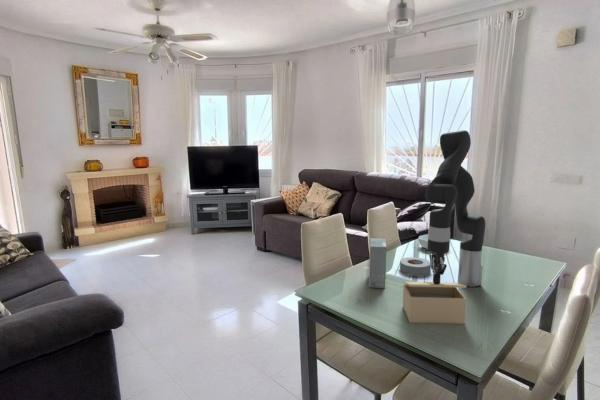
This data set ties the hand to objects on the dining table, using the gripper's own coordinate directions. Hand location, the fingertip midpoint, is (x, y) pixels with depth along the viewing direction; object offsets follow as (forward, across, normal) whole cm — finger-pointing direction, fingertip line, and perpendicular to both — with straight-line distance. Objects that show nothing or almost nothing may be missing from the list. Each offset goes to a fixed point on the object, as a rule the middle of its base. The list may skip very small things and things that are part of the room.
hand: (436, 283), depth 127 cm
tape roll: (+14, +52, -5) cm, 54 cm away
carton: (+15, +4, 0) cm, 15 cm away
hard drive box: (+15, +36, +17) cm, 42 cm away
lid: (+2, +4, 0) cm, 4 cm away
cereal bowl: (+14, +90, -25) cm, 94 cm away
